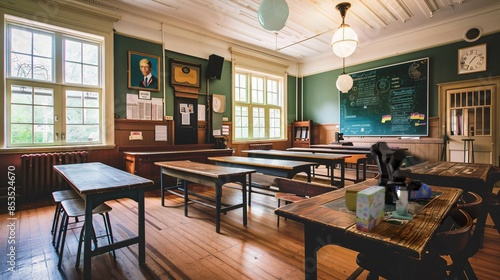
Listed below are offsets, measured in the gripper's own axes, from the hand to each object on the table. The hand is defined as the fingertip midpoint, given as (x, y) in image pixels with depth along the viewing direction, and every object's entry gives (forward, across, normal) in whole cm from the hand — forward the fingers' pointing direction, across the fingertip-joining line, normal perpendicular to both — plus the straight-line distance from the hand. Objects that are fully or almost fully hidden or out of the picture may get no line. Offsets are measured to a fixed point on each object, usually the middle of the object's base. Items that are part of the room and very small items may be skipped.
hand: (403, 200), depth 113 cm
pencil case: (-22, +18, +34) cm, 44 cm away
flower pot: (0, -20, +11) cm, 23 cm away
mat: (+5, 0, +6) cm, 8 cm away
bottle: (+4, 0, +6) cm, 7 cm away
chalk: (-4, +5, +16) cm, 17 cm away
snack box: (+15, -17, -4) cm, 23 cm away
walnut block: (0, +8, +12) cm, 14 cm away
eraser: (-6, +10, +18) cm, 22 cm away
